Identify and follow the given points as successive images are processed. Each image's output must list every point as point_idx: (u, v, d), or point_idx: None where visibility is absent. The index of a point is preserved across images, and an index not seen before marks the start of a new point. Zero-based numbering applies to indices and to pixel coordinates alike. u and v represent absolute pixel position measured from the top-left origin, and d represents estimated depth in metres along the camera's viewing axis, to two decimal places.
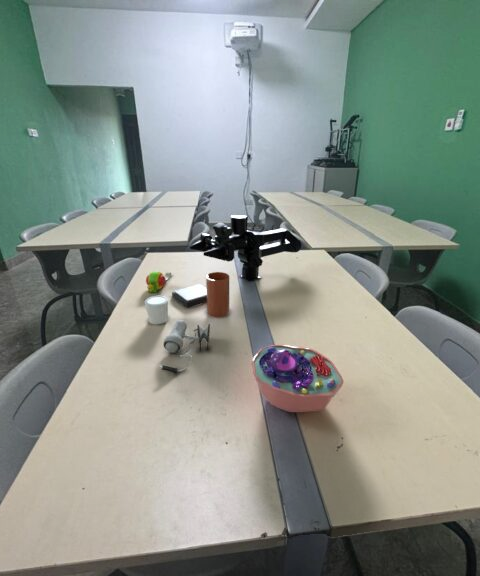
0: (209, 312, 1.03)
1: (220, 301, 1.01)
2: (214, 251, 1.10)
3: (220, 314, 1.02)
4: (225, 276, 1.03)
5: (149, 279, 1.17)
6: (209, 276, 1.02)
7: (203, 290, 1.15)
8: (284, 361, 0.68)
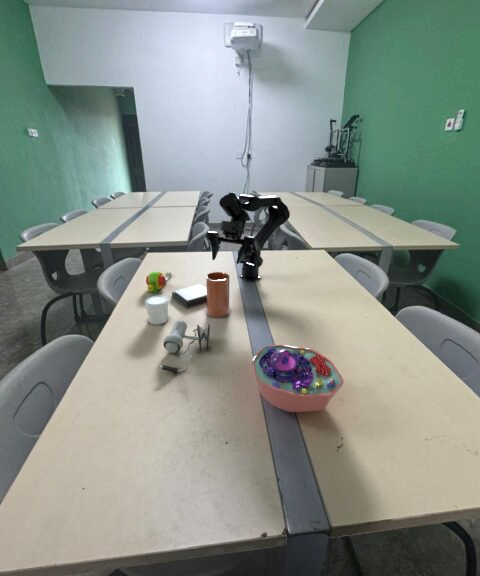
0: (209, 312, 1.03)
1: (220, 301, 1.01)
2: (242, 254, 1.10)
3: (220, 314, 1.02)
4: (225, 276, 1.03)
5: (149, 279, 1.17)
6: (209, 276, 1.02)
7: (203, 290, 1.15)
8: (284, 361, 0.68)
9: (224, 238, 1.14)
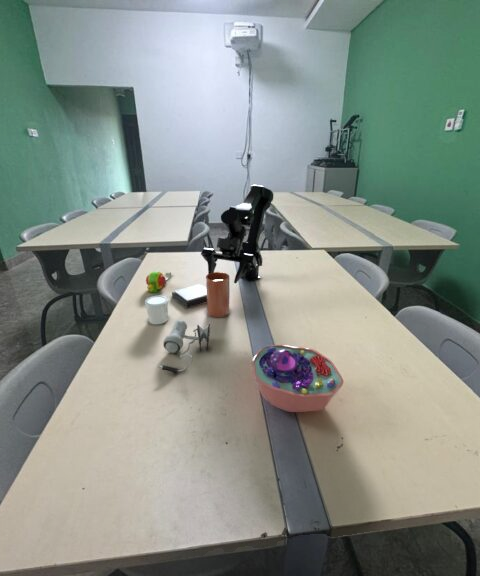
0: (209, 312, 1.03)
1: (220, 301, 1.01)
2: (240, 272, 1.04)
3: (220, 314, 1.02)
4: (225, 276, 1.03)
5: (149, 279, 1.17)
6: (209, 276, 1.02)
7: (203, 290, 1.15)
8: (284, 361, 0.68)
9: (221, 255, 1.07)
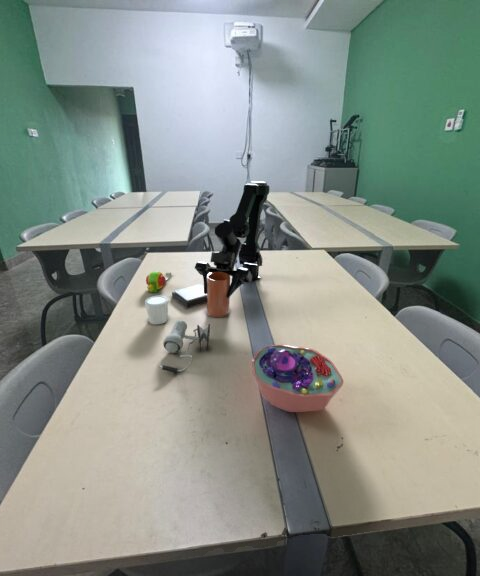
0: (209, 312, 1.03)
1: (220, 301, 1.00)
2: (233, 287, 1.01)
3: (220, 314, 1.02)
4: (226, 276, 1.03)
5: (149, 279, 1.17)
6: (210, 276, 1.02)
7: (203, 290, 1.15)
8: (284, 361, 0.68)
9: (215, 269, 1.04)
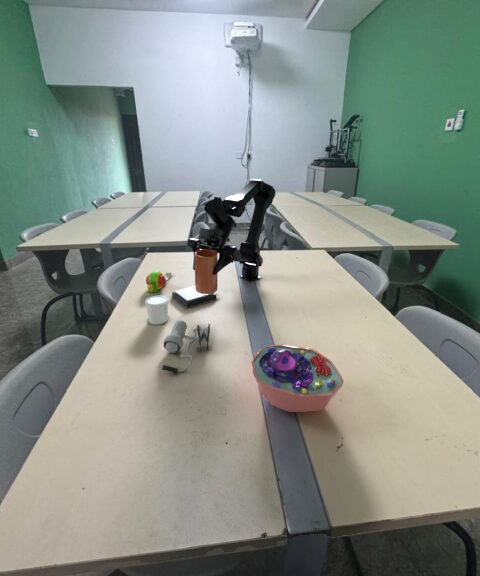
0: (196, 288, 1.04)
1: (206, 278, 1.01)
2: (220, 264, 1.01)
3: (206, 291, 1.03)
4: (215, 254, 1.03)
5: (149, 279, 1.17)
6: (199, 252, 1.03)
7: None
8: (284, 361, 0.68)
9: (206, 246, 1.05)
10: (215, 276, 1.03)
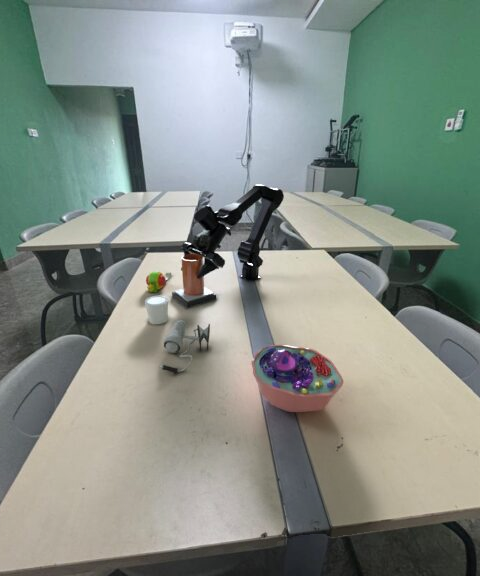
0: (183, 289, 1.13)
1: (190, 280, 1.09)
2: (204, 269, 1.07)
3: (190, 292, 1.11)
4: None
5: (149, 279, 1.17)
6: (188, 256, 1.12)
7: None
8: (284, 361, 0.68)
9: (196, 251, 1.12)
10: (199, 279, 1.10)
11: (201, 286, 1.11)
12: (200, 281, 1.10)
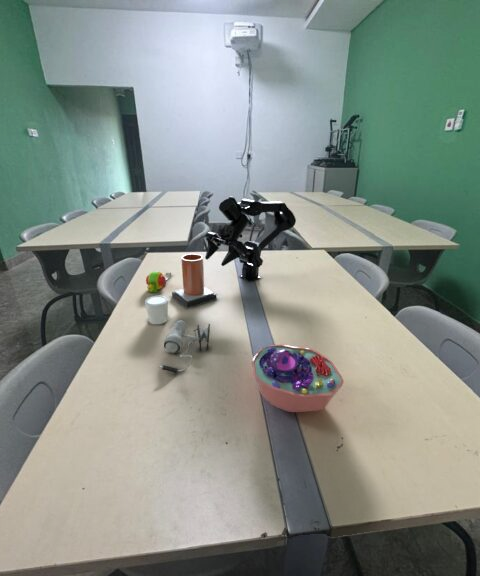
0: (183, 289, 1.13)
1: (190, 280, 1.09)
2: (228, 257, 1.13)
3: (190, 292, 1.11)
4: None
5: (149, 279, 1.17)
6: (188, 256, 1.12)
7: None
8: (284, 361, 0.68)
9: (220, 240, 1.19)
10: (199, 279, 1.10)
11: (201, 286, 1.11)
12: (200, 281, 1.10)
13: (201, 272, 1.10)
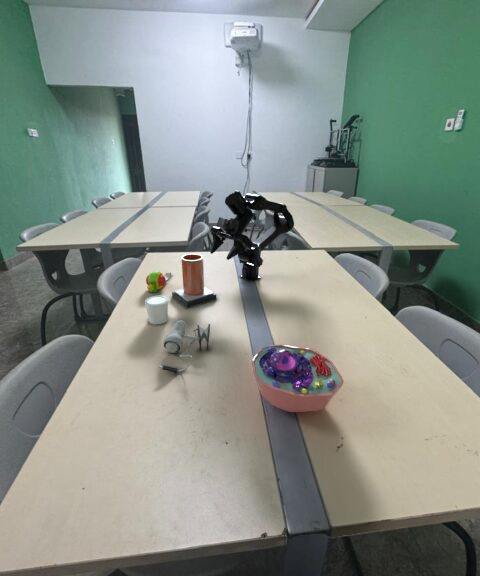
0: (183, 289, 1.13)
1: (190, 280, 1.09)
2: (233, 250, 1.14)
3: (190, 292, 1.11)
4: None
5: (149, 279, 1.17)
6: (188, 256, 1.12)
7: None
8: (284, 361, 0.68)
9: (224, 234, 1.19)
10: (199, 279, 1.10)
11: (201, 286, 1.11)
12: (200, 281, 1.10)
13: (201, 272, 1.10)
